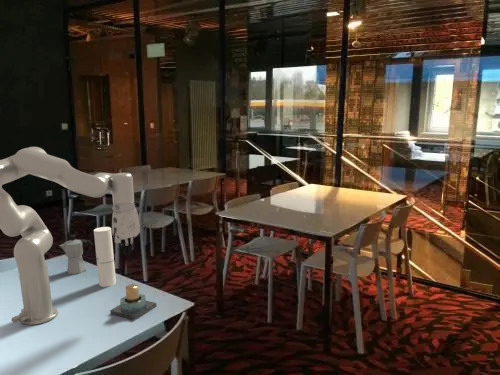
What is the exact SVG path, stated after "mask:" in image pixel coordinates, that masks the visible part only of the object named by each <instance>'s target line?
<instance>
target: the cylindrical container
mask: <svg viewBox="0 0 500 375" xmlns="http://www.w3.org/2000/svg"><path fill="white" fill-rule="evenodd" d="M93 235H94V246H95V256H96V257H95V258H96V266H97V274H98V275H97V277H98V285H99V287H103V288H106V287H111V286H115V284H116V283H117V279H116V277H117V276H116V266H115V259H114V258H115V254H114V245H113V237H112V236H113V233H112V227H110V226H101V227H95V229H93Z"/></svg>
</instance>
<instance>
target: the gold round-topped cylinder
mask: <svg viewBox="0 0 500 375" xmlns="http://www.w3.org/2000/svg"><path fill="white" fill-rule="evenodd" d="M139 294H140V292H139V285H138V284H136V283H135V284H134V283H132V284H127V285H126V286H125V296H126V298H127V302H128V303H133V302H137V301H139Z"/></svg>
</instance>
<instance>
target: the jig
mask: <svg viewBox="0 0 500 375" xmlns="http://www.w3.org/2000/svg"><path fill="white" fill-rule="evenodd" d="M156 307H157V302H153V301H149V300H147V298H146V294H142V293H141V294H140V293H139V301H137V302H133V303H128V302H127V298H126V295H125V296H123V297H121V298H120V304H119V305H117V306H115V307H113V308H112V309H110V315H112V316H118V317H121V318H125V319H128V320H132V321H136V320H138V319H139V318H140V317H143V316H144V315H145V314H147V313H148V312H150V311H151V310H153V309H155V308H156Z"/></svg>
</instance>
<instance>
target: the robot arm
mask: <svg viewBox="0 0 500 375" xmlns="http://www.w3.org/2000/svg"><path fill="white" fill-rule="evenodd" d="M27 175H31V176H35V177H37V178H42V179H44V180H48V181H51V182H54V183H56V184H59V185H60V186H62V187H64V188H66V190H69V191H71V192H74V193H76V194H80V195H82V196H83V195H84V196H87V197H91V198H101V197H103V196H105V195H106V194H107V193H109V192H110V193H111V192H112V193H111V194H112V207H111V209H112V211H113V212H112V218H111V233H112V236H113V237H112V239H113V238H114V243H116V244H120V245H121V247H122V255H123V256H127V257H128V256H132V255H133V247H132V246H133V245H132V244H134V239H135V238H136V237H138V236H139V234H140V233H141V226H140V224H141V223H140V218H139V214H138V210H137V208H136V205H135V192H134V179H133V175H132V174H131V173H130V172H118V173H113V172H112V173H111V172H99V173H95V174H89V173H87V172H83V171H80V170H79V169H76V168H74V167H73V166H72V165H71V164H70V162H69V161H67V160H66V159H63V158H60V157H58V156H55V155H52V154H51V155H50V154H48V153H47V152H46V151H45V150H44V149H43V148H42V147H39V146H29V147H25V148H22V149H20V150H17V152H16V153H15V154H13V155H10V156H9V157H6V158H3V159H0V230H1V231H2V233H3V234H4V235H6V236H8V237H11V238H13V237H18V236H20V235H21V238H20V239H19V240H18V241H17V242H16V244H15V245H14V248H13V257H14V260H15V263H16V266H17V270H18V271H17V272H18V277H19V278H18V279H19V282H20V283H19V284H20V290H21V291H20V292H21V298H22V305H23V308H22V309H21V310H20V313H18V315H15V316H13V317H11V322H12V323H13V324H15V323H16V322H18V321H20V322H21V324H23V325H28V326H29V325H30V326H33V325H40V324H44V323H47V322H50V321H51V320H53V319H55V318H56V317H57V316H58V314H59V313H58V312H59V311H58V308H56V307H54V306H53V300H52V298H53V297H52V291H51V284H50V283H51V282H50V275H49V269H48V264H47V262H46V259H45V254H46V253H47V252H48V251H49V250H50V249H51V247H52V246H53V243H54V242H53V241H54V238H53V236H52V233H51V231H50V230H49V229H48V227H47V225H45V223H44V221H43V220H42V218H41V217H40V215H39V214H38V213H37V212H36V210H35V209H33V208H32V207H31V206H28V205H23V204H21V205H18V204H16V202H15V201H14V199H13V197H12V196H11V195H10V194H9V193H8V192H7V191H6V190H4V188H3V187H2V186H3V185H5V184H8V183H11V182H14V181H15V180H18V179H20V178H23V177H25V176H27Z"/></svg>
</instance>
